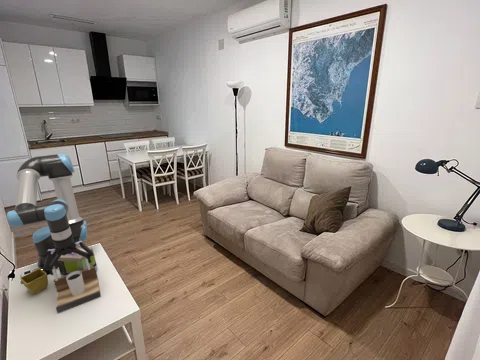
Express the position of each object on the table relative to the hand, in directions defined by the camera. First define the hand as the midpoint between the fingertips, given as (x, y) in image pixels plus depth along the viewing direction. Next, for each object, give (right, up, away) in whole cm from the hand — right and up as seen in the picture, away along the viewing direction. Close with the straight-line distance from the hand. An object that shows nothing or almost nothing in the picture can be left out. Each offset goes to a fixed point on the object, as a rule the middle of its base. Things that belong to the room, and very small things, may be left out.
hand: (73, 273), depth 123 cm
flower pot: (-23, -12, +7) cm, 27 cm away
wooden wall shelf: (+1, -12, +3) cm, 13 cm away
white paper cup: (0, -10, +3) cm, 11 cm away
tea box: (-8, -8, +18) cm, 21 cm away
